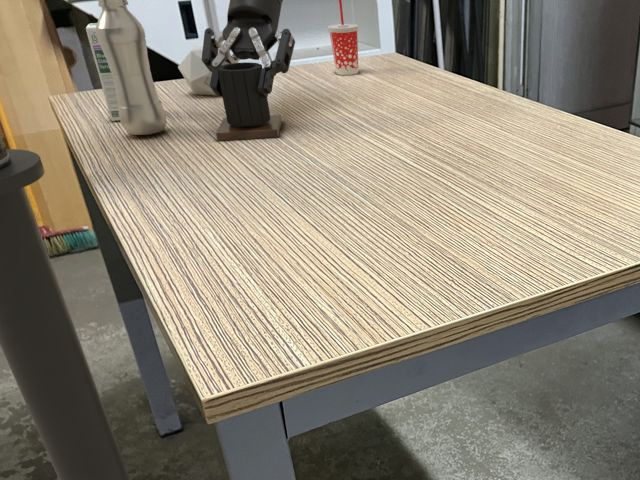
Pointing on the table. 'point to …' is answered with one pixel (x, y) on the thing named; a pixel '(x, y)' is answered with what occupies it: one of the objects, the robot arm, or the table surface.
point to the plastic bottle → (129, 68)
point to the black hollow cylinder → (243, 94)
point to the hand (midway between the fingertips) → (239, 93)
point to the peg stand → (249, 130)
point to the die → (197, 72)
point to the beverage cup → (344, 46)
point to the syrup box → (103, 73)
